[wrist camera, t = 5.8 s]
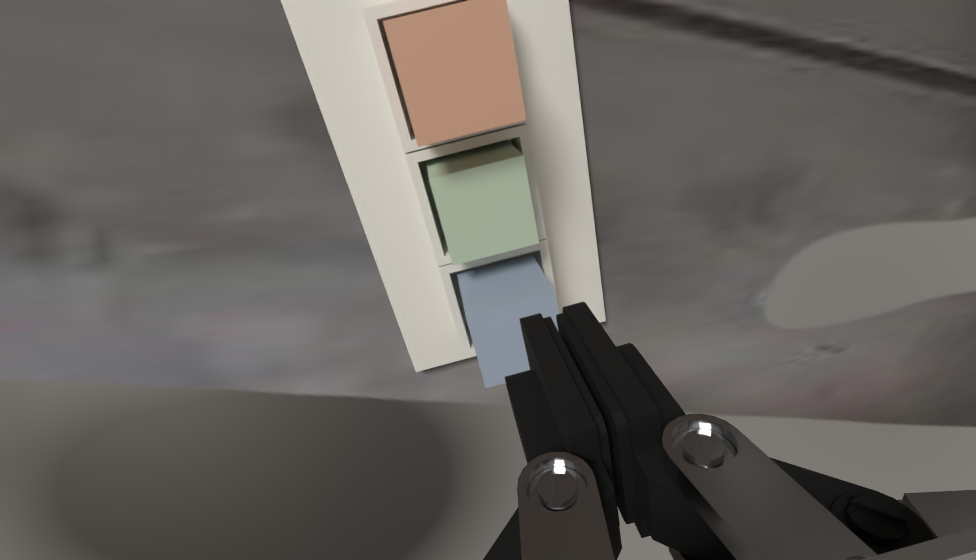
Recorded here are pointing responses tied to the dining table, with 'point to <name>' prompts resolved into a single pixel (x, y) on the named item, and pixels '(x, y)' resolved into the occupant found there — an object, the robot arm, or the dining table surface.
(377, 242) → the board
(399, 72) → the terracotta button
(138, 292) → the dining table surface
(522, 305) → the slate button
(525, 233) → the sage button
